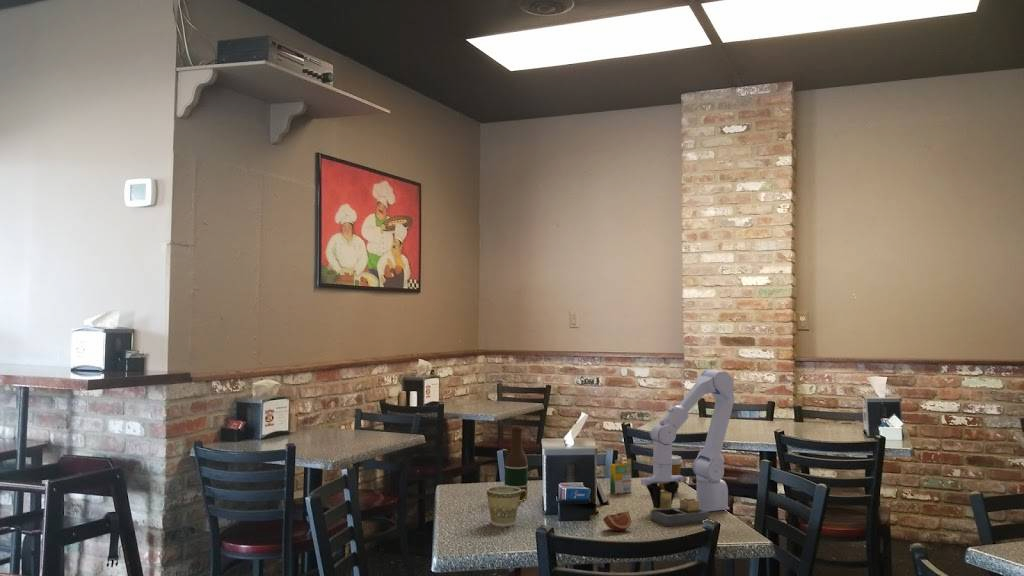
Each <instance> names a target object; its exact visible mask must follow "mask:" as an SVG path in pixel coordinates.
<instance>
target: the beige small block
mask: <svg viewBox="0 0 1024 576" xmlns="http://www.w3.org/2000/svg"><path fill="white" fill-rule="evenodd" d="M667 508H672V505H671V493H670V492H668V491H666V490H661V492H660V498H659V508H655V507H653V508H652V510H657V509H667Z"/></svg>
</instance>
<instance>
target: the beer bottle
mask: <svg viewBox="0 0 1024 576" xmlns="http://www.w3.org/2000/svg"><path fill="white" fill-rule="evenodd" d="M510 429H511V440H510V447H509V448H510V449H509V451H508V453H507V455H506V457H505V460H504V486H512V487H517V488H520V489H524V490H526V492H527V493H528V468H529V467H528V458H527V455H526V453H525V451H524V450H523V439H522V438H523V437H522V430H523V426H521V425H511V428H510ZM524 497H525V492H524V491H523V492H521V494H520V499H519V500H522V499H523V498H524ZM527 498H528V495H527V496H526V498H525V499H527Z"/></svg>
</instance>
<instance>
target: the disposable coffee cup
mask: <svg viewBox="0 0 1024 576" xmlns="http://www.w3.org/2000/svg"><path fill="white" fill-rule="evenodd" d="M682 464H683V459H682V456H679V455H675V454H672V475H681V468H682ZM679 483H680V482H676V484H679ZM658 485H659V487H661V490H665V489H664V484H658ZM678 491H679V488H678V489H677V491H676V493H678Z"/></svg>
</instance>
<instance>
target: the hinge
mask: <svg viewBox="0 0 1024 576" xmlns="http://www.w3.org/2000/svg"><path fill="white" fill-rule="evenodd" d="M605 502H606V504H607V503H608V504H607V505H611V502H610V499H609V498H608V497H606V496H605V494H604V491H603V489H602V485H601V483H600V481H599V480H598V479H597V505H596V506H600V505H601V504H602V503H603V504H604V503H605Z"/></svg>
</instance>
